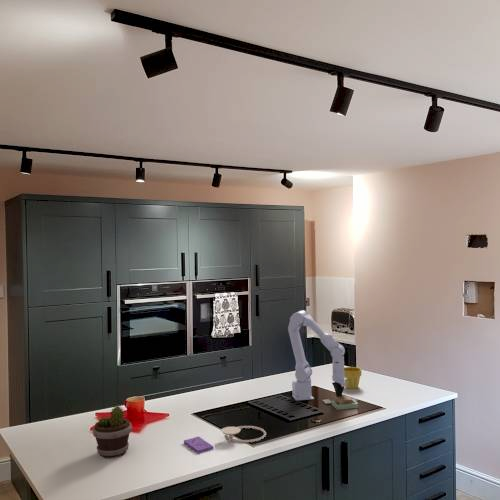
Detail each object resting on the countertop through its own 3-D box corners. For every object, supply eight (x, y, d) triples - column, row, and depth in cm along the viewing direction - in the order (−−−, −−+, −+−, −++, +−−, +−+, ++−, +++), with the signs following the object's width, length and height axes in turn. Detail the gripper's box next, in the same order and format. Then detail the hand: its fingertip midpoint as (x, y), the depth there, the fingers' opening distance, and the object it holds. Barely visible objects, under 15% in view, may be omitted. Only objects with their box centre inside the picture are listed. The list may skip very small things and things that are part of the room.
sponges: (198, 440, 210) (198, 436, 210) (214, 450, 199) (213, 445, 199) (183, 444, 206) (183, 440, 206) (198, 454, 195) (197, 450, 195)
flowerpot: (85, 454, 198) (83, 402, 198) (121, 442, 209) (119, 393, 209) (104, 465, 188) (102, 410, 187) (140, 452, 198) (139, 400, 198)
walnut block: (340, 409, 243) (340, 400, 243) (336, 405, 249) (336, 397, 249) (352, 407, 244) (352, 399, 244) (347, 404, 250) (347, 395, 250)
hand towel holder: (274, 425, 212) (236, 438, 199) (274, 435, 212) (236, 449, 199) (247, 415, 225) (210, 427, 211) (248, 425, 225) (210, 437, 211)
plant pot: (363, 389, 273) (363, 371, 273) (344, 390, 273) (343, 371, 273) (359, 384, 283) (359, 366, 283) (340, 384, 284) (340, 366, 284)
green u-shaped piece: (331, 410, 241) (331, 405, 241) (322, 401, 255) (321, 397, 255) (364, 407, 244) (363, 403, 244) (353, 398, 258) (352, 394, 258)
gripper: (351, 373, 248) (352, 401, 248) (341, 366, 262) (341, 392, 262) (337, 374, 246) (338, 402, 247) (327, 366, 261) (328, 393, 261)
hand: (339, 397), depth 254 cm, fingers closed
